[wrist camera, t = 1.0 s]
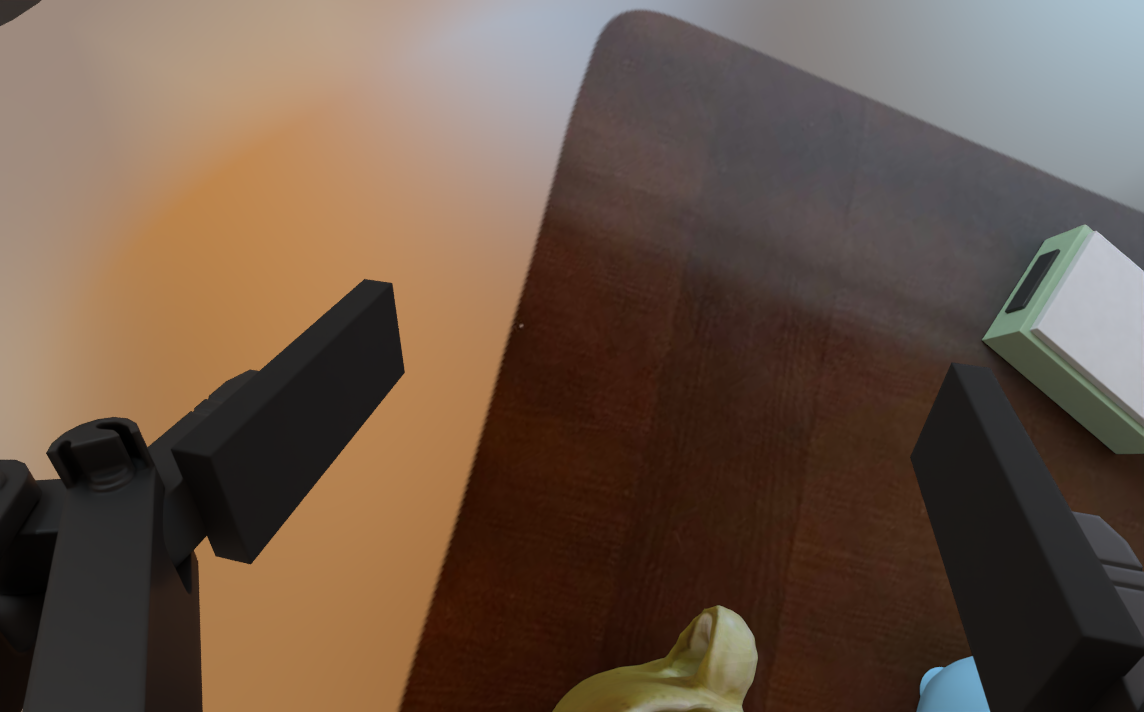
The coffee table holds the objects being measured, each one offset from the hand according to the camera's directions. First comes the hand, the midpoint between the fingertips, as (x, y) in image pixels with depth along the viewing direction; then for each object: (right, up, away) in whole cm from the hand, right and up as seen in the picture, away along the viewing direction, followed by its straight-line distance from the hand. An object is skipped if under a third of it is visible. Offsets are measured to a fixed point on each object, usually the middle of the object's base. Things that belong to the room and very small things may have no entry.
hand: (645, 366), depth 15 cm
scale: (+27, +1, +21) cm, 35 cm away
